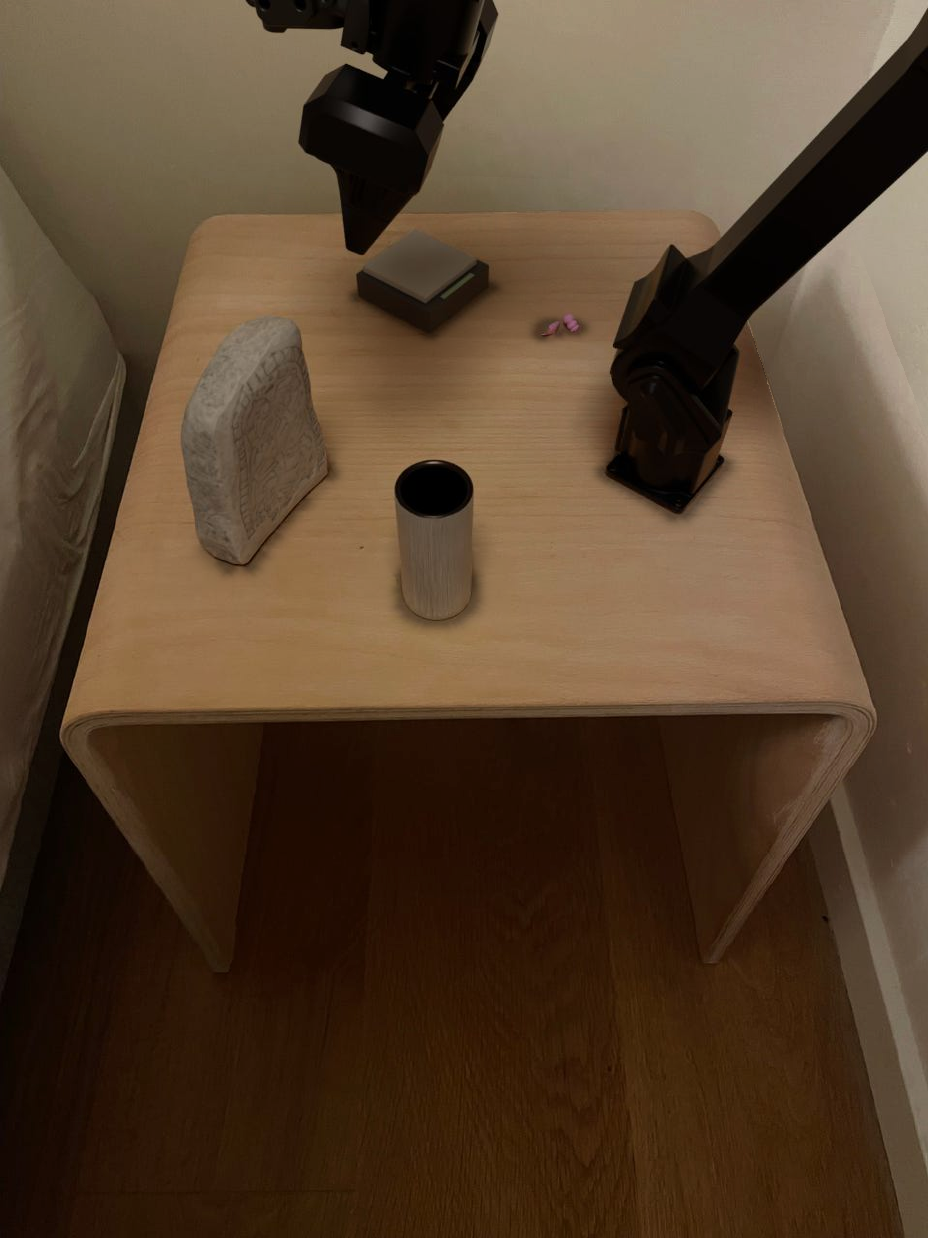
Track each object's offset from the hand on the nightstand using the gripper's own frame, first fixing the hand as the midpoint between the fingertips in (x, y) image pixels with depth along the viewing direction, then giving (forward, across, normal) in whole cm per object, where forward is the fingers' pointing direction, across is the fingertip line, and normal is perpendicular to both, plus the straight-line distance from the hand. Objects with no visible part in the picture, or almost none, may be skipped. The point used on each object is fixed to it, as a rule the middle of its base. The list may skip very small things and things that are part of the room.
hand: (376, 210), depth 55 cm
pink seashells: (+13, -14, +15) cm, 25 cm away
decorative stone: (+19, +10, -1) cm, 21 cm away
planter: (+16, +14, +12) cm, 24 cm away
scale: (+16, -17, +3) cm, 23 cm away
